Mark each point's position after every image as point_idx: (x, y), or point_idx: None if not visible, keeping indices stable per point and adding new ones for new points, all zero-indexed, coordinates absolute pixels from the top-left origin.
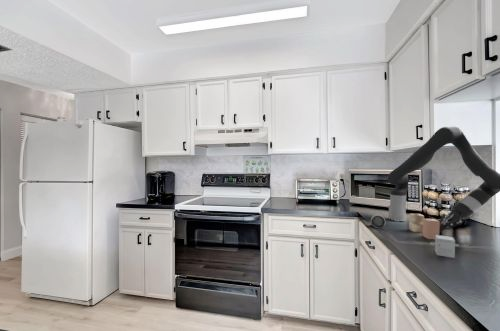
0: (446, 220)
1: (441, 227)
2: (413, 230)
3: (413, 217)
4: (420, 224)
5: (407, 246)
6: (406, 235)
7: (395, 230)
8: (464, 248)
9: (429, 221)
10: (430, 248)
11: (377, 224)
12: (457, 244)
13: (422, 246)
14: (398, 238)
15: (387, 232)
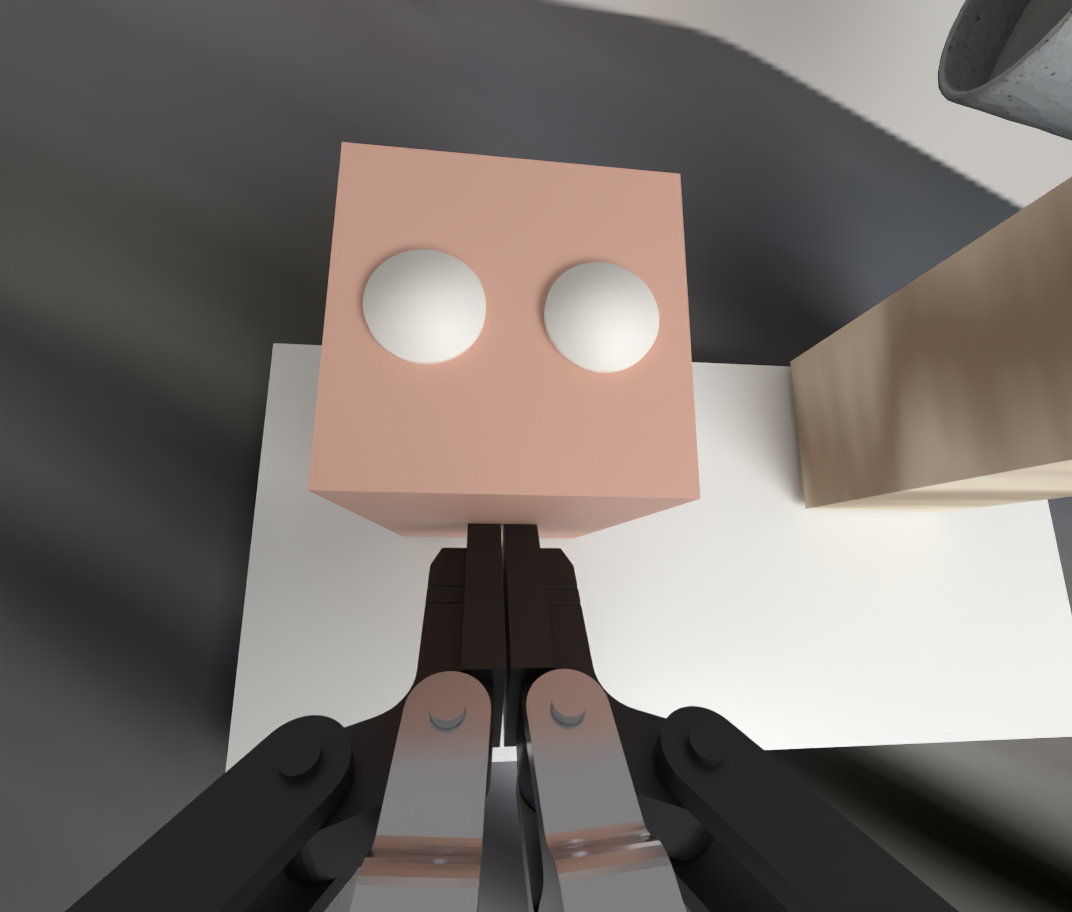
0: (447, 858)
1: (435, 606)
2: (803, 353)
3: (1038, 213)
4: (900, 422)
5: (174, 42)
6: (689, 262)
7: (909, 237)
8: (146, 792)
9: (342, 188)
10: (110, 267)
11: (1011, 39)
12: (233, 743)
13: (192, 212)
14: (513, 99)
15: (767, 96)
